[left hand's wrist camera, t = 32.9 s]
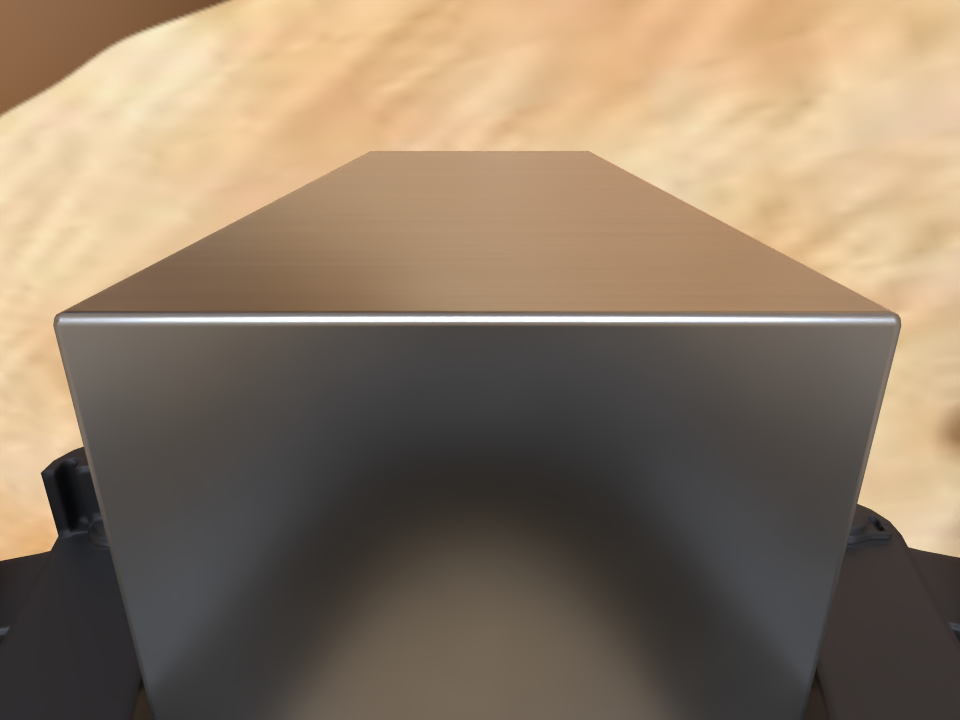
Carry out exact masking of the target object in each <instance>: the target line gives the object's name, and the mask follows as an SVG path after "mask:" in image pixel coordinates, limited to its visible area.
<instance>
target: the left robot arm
mask: <svg viewBox="0 0 960 720" xmlns="http://www.w3.org/2000/svg"><path fill="white" fill-rule="evenodd" d="M41 475H42V479H43V482H44V486H45V489H46V493H47V496H48V500H49V503H50V507H51V511H52V514H53V518H54V521H55V525H56V528H57V532H58V535H59V536H58V538H57V540H56V542H55V544H54V546H53V547H52V549H51V551H48V552H44V553H40V554H35V555H30V556H24V557H19V558H14V559H9V560H3V561H0V720H153V718H152V715H151V711H150V707H149V703H148V699H147V695H146V691H145V687H144V683H143V679H142V675H141V671H140V667H139V663H138V659H137V655H136V651H135V647H134V643H133V639H132V635H131V631H130V627H129V623H128V619H127V615H126V611H125V607H124V604H123V600H122V596H121V592H120V588H119V584H118V580H117V576H116V572H115V568H114V564H113V560H112V556H111V552H110V548H109V544H108V540H107V536H106V532H105V528H104V524H103V520H102V516H101V512H100V508H99V504H98V500H97V496H96V493H95V489H94V485H93V481H92V477H91V473H90V469H89V465H88V461H87V457H86V453H85V449H84V447H81V448H78V449H75V450H73V451H71V452H69V453H67V454H65V455H64V456H62V457H60V458H58V459H56V460H54V461H53V462H52V463H51V464H50V465H49V466H48V467H47V468H46V469H45V470H43V471H42V472H41ZM803 720H960V558H958V557H953V556H947V555H942V554H937V553H931V552H926V551H921V550H917V549H913V548H909V547H908V546H907V544H906V543H905V541H904V539H903V537H902V535H901V534H900V533H899V532H898V530H897V529H896V528H895V527H894V526H893V525H892V524H891V522H890V521H888V520H887V519H885V518H883V517H882V516H880V515H879V514H877V513H876V512H874V511H873V510H871V509H869V508H866V507H864V506H861V505H859V504H857V506H856V510H855V514H854V518H853V522H852V526H851V530H850V534H849V538H848V542H847V546H846V550H845V554H844V558H843V562H842V566H841V570H840V574H839V578H838V582H837V586H836V590H835V594H834V598H833V602H832V606H831V610H830V614H829V618H828V622H827V627H826V631H825V635H824V639H823V643H822V647H821V651H820V655H819V659H818V663H817V667H816V671H815V675H814V679H813V683H812V687H811V691H810V695H809V699H808V703H807V707H806V711H805V715H804V719H803Z"/></svg>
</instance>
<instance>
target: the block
mask: <svg viewBox="0 0 960 720" xmlns="http://www.w3.org/2000/svg"><path fill="white" fill-rule="evenodd" d="M53 326H54V330H55V334H56V338H57V342H58V346H59V350H60V354H61V358H62V362H63V366H64V370H65V374H66V378H67V381H68V385H69V389H70V393H71V397H72V401H73V405H74V409H75V413H76V417H77V421H78V425H79V429H80V433H81V437H82V441H83V445H84V449H85V453H86V457H87V461H88V465H89V469H90V473H91V477H92V481H93V485H94V489H95V493H96V496H97V500H98V504H99V508H100V512H101V516H102V520H103V524H104V528H105V532H106V536H107V540H108V544H109V548H110V552H111V556H112V560H113V564H114V568H115V572H116V576H117V580H118V584H119V588H120V592H121V596H122V600H123V604H124V607H125V611H126V615H127V619H128V623H129V627H130V631H131V635H132V639H133V643H134V647H135V651H136V655H137V659H138V663H139V667H140V671H141V675H142V679H143V683H144V687H145V691H146V695H147V699H148V703H149V707H150V711H151V715H152V718H153V720H803V719H804V715H805V711H806V707H807V703H808V699H809V695H810V691H811V687H812V683H813V679H814V675H815V671H816V667H817V663H818V659H819V655H820V651H821V647H822V643H823V639H824V635H825V631H826V627H827V622H828V618H829V614H830V610H831V606H832V602H833V598H834V594H835V590H836V586H837V582H838V578H839V574H840V570H841V566H842V562H843V558H844V554H845V550H846V546H847V542H848V538H849V534H850V530H851V526H852V522H853V518H854V514H855V510H856V506H857V502H858V498H859V494H860V490H861V486H862V482H863V478H864V474H865V470H866V466H867V462H868V458H869V454H870V449H871V445H872V441H873V437H874V433H875V429H876V425H877V421H878V417H879V413H880V409H881V405H882V401H883V397H884V393H885V389H886V385H887V381H888V377H889V373H890V369H891V365H892V361H893V357H894V353H895V349H896V345H897V341H898V337H899V333H900V329H901V319H900V317H899V315H898V314H896V313H894V312H892V311H890V310H889V309H887V308H885V307H883V306H881V305H879V304H877V303H875V302H873V301H871V300H870V299H868V298H866V297H864V296H862V295H860V294H858V293H856V292H854V291H853V290H851V289H849V288H847V287H845V286H843V285H841V284H839V283H837V282H835V281H834V280H832V279H830V278H828V277H826V276H824V275H822V274H820V273H818V272H817V271H815V270H813V269H811V268H809V267H807V266H805V265H803V264H801V263H800V262H798V261H796V260H794V259H792V258H790V257H788V256H786V255H784V254H782V253H781V252H779V251H777V250H775V249H773V248H771V247H769V246H767V245H765V244H764V243H762V242H760V241H758V240H756V239H754V238H752V237H750V236H748V235H746V234H745V233H743V232H741V231H739V230H737V229H735V228H733V227H731V226H729V225H728V224H726V223H724V222H722V221H720V220H718V219H716V218H714V217H712V216H711V215H709V214H707V213H705V212H703V211H701V210H699V209H697V208H695V207H693V206H692V205H690V204H688V203H686V202H684V201H682V200H680V199H678V198H676V197H675V196H673V195H671V194H669V193H667V192H665V191H663V190H661V189H659V188H657V187H656V186H654V185H652V184H650V183H648V182H646V181H644V180H642V179H640V178H639V177H637V176H635V175H633V174H631V173H629V172H627V171H625V170H623V169H621V168H620V167H618V166H616V165H614V164H612V163H610V162H608V161H606V160H604V159H603V158H601V157H599V156H597V155H595V154H593V153H591V152H589V151H371V152H368V153H366V154H365V155H363V156H361V157H359V158H357V159H355V160H353V161H351V162H349V163H347V164H345V165H343V166H341V167H340V168H338V169H336V170H334V171H332V172H330V173H328V174H326V175H324V176H322V177H320V178H318V179H316V180H314V181H313V182H311V183H309V184H307V185H305V186H303V187H301V188H299V189H297V190H295V191H293V192H291V193H289V194H288V195H286V196H284V197H282V198H280V199H278V200H276V201H274V202H272V203H270V204H268V205H266V206H264V207H263V208H261V209H259V210H257V211H255V212H253V213H251V214H249V215H247V216H245V217H243V218H241V219H239V220H238V221H236V222H234V223H232V224H230V225H228V226H226V227H224V228H222V229H220V230H218V231H216V232H214V233H213V234H211V235H209V236H207V237H205V238H203V239H201V240H199V241H197V242H195V243H193V244H191V245H189V246H188V247H186V248H184V249H182V250H180V251H178V252H176V253H174V254H172V255H170V256H168V257H166V258H164V259H162V260H161V261H159V262H157V263H155V264H153V265H151V266H149V267H147V268H145V269H143V270H141V271H139V272H137V273H136V274H134V275H132V276H130V277H128V278H126V279H124V280H122V281H120V282H118V283H116V284H114V285H112V286H111V287H109V288H107V289H105V290H103V291H101V292H99V293H97V294H95V295H93V296H91V297H89V298H87V299H86V300H84V301H82V302H80V303H78V304H76V305H74V306H72V307H70V308H68V309H66V310H64V311H62V312H61V313H59V314H57V315H56V316H55V318H54V325H53Z"/></svg>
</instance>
